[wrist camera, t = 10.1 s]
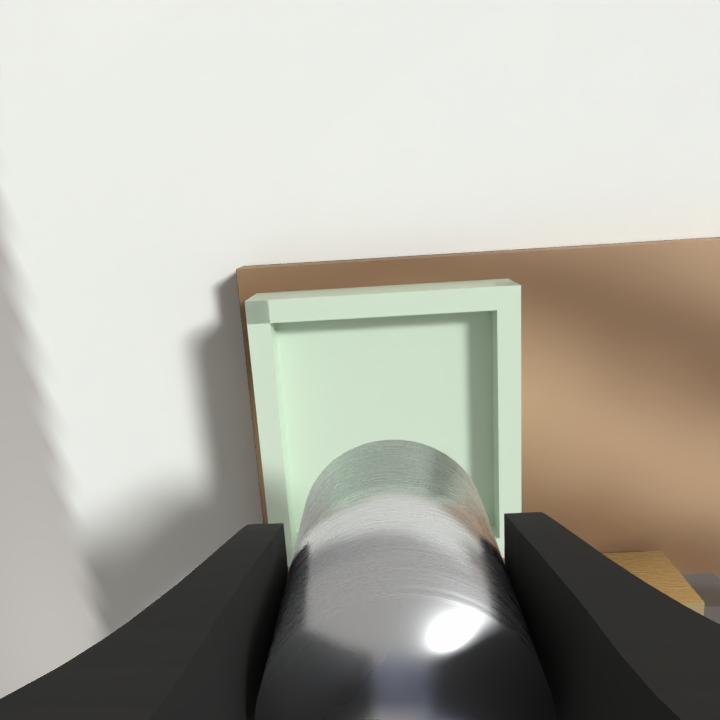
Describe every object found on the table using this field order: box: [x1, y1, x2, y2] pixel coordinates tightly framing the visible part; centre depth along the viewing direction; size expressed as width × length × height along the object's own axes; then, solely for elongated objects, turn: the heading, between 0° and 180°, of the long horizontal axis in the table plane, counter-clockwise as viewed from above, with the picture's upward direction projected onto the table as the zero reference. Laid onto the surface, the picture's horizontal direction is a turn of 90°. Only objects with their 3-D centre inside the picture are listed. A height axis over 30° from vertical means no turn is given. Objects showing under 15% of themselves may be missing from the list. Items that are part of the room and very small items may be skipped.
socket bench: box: [236, 237, 720, 624], centre depth 18 cm, size 18×17×3 cm
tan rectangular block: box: [602, 551, 705, 616], centre depth 18 cm, size 4×2×2 cm, turn 4°
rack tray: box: [245, 278, 521, 567], centre depth 17 cm, size 8×7×2 cm
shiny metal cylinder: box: [255, 440, 556, 720], centre depth 10 cm, size 4×4×5 cm
